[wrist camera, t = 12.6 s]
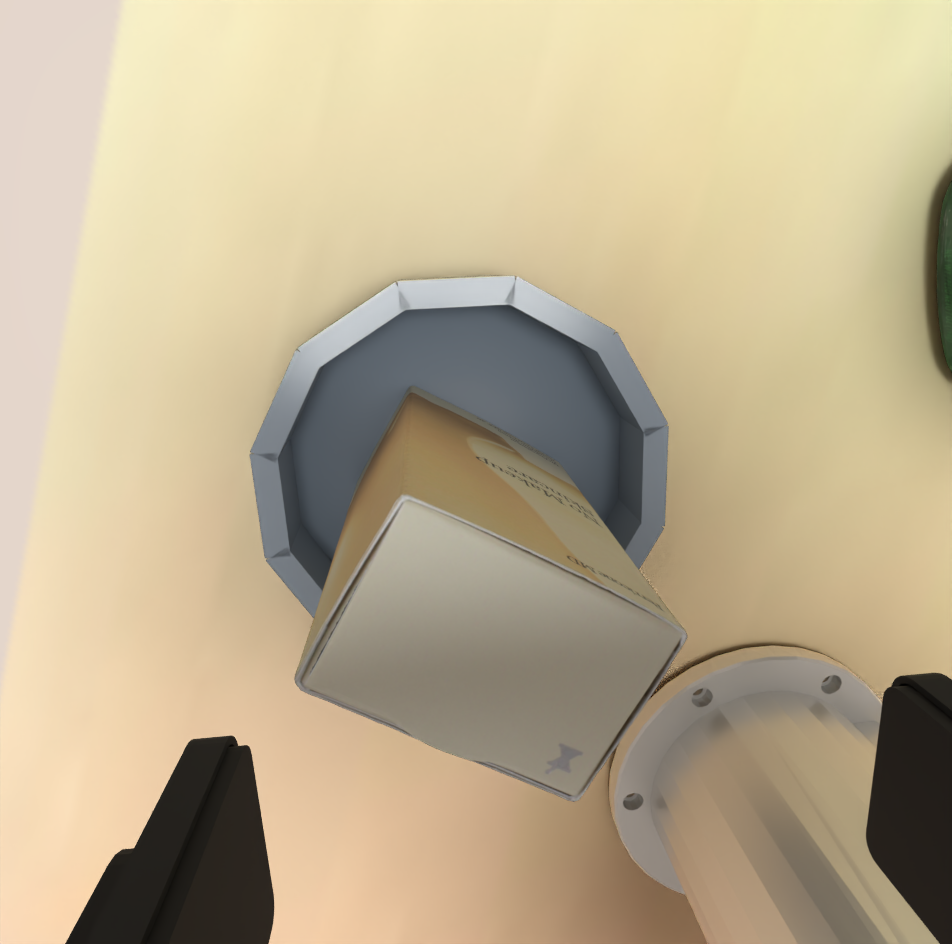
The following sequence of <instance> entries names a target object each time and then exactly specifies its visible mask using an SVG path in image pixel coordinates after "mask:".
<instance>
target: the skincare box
mask: <svg viewBox="0 0 952 944" xmlns="http://www.w3.org/2000/svg"><path fill="white" fill-rule="evenodd" d="M686 639H687V634H686V631H685V630H684V628H683V627H682V626H681V625H680V624H679V623H678V621H677V620H676V619H675V617H674V616H673V615H672V613H671V612H670V611H669V609H668V608H667V607H666V606H665V604H664V603H663V602H662V600H661V599H660V597H659V596H658V595H657V594H656V592H655V591H654V590H653V588H652V587H651V585H650V584H649V583H648V581H647V580H646V579H645V578H644V576H643V575H642V574H641V572H640V571H639V569H638V568H637V567H636V565H635V564H634V563H633V561H632V560H631V559H630V557H629V556H628V555H627V553H626V552H625V551H624V549H623V548H622V547H621V545H620V544H619V543H618V541H617V540H616V539H615V537H614V536H613V534H612V533H611V532H610V530H609V529H608V528H607V526H606V525H605V524H604V522H603V521H602V520H601V518H600V517H599V516H598V514H597V513H596V511H595V510H594V509H593V507H592V506H591V505H590V504H589V502H588V501H587V500H586V498H585V497H584V496H583V494H582V493H581V492H580V490H579V489H578V487H577V486H576V484H575V483H574V482H573V481H572V479H571V478H570V476H569V475H568V474H567V472H566V471H565V470H564V468H563V467H562V465H561V464H560V463H559V462H557V461H556V460H554V459H552V458H551V457H549V456H547V455H546V454H544V453H542V452H541V451H539V450H537V449H535V448H534V447H532V446H530V445H529V444H527V443H525V442H523V441H522V440H520V439H518V438H516V437H514V436H513V435H511V434H509V433H507V432H505V431H503V430H502V429H500V428H498V427H496V426H494V425H492V424H490V423H489V422H487V421H485V420H483V419H481V418H479V417H477V416H475V415H473V414H471V413H469V412H467V411H465V410H463V409H461V408H459V407H457V406H455V405H453V404H451V403H449V402H447V401H444V400H442V399H440V398H438V397H436V396H434V395H432V394H430V393H428V392H426V391H424V390H422V389H420V388H418V387H415V386H410V387H409V388H408V390H407V392H406V393H405V395H404V397H403V399H402V400H401V402H400V404H399V405H398V407H397V409H396V411H395V412H394V414H393V416H392V418H391V420H390V421H389V423H388V425H387V427H386V429H385V431H384V432H383V434H382V436H381V438H380V440H379V441H378V443H377V445H376V447H375V449H374V450H373V452H372V454H371V456H370V458H369V460H368V462H367V464H366V466H365V468H364V470H363V472H362V474H361V476H360V478H359V480H358V482H357V484H356V488H355V491H354V494H353V497H352V500H351V503H350V506H349V509H348V512H347V515H346V519H345V522H344V526H343V529H342V532H341V535H340V538H339V541H338V544H337V547H336V550H335V553H334V557H333V560H332V563H331V566H330V570H329V573H328V576H327V579H326V582H325V585H324V588H323V591H322V594H321V598H320V601H319V604H318V607H317V610H316V613H315V617H314V620H313V623H312V626H311V629H310V632H309V635H308V638H307V641H306V644H305V647H304V650H303V654H302V657H301V660H300V663H299V666H298V669H297V671H296V674H295V683H296V685H297V686H298V687H299V689H300V690H301V691H303V692H305V693H308V694H310V695H312V696H315V697H318V698H320V699H323V700H325V701H328V702H330V703H333V704H335V705H337V706H339V707H342V708H344V709H347V710H349V711H352V712H354V713H357V714H359V715H361V716H364V717H366V718H368V719H371V720H373V721H375V722H378V723H380V724H383V725H386V726H388V727H390V728H393V729H395V730H398V731H400V732H402V733H404V734H406V735H408V736H411V737H413V738H415V739H418V740H420V741H422V742H424V743H425V744H427V745H429V746H432V747H434V748H436V749H439V750H441V751H443V752H446V753H449V754H452V755H455V756H458V757H461V758H464V759H467V760H470V761H473V762H476V763H478V764H481V765H483V766H486V767H488V768H491V769H493V770H496V771H498V772H500V773H503V774H505V775H508V776H510V777H513V778H516V779H518V780H521V781H523V782H526V783H528V784H530V785H533V786H535V787H538V788H540V789H542V790H545V791H547V792H550V793H552V794H555V795H557V796H559V797H561V798H563V799H566V800H569V801H573V802H574V801H577V800H579V799H580V798H581V797H582V795H583V794H584V793H585V791H586V790H587V788H588V787H589V785H590V784H591V782H592V780H593V779H594V777H595V776H596V774H597V773H598V772H599V771H600V769H601V768H602V767H603V765H604V764H605V762H606V761H607V759H608V758H609V756H610V755H611V753H612V752H613V751H614V749H615V748H616V747H617V745H618V744H619V742H620V741H621V739H622V738H623V736H624V735H625V733H626V732H627V730H628V729H629V727H630V726H631V725H632V723H633V722H634V720H635V719H636V717H637V716H638V715H639V713H640V712H641V710H642V709H643V707H644V706H645V704H646V703H647V701H648V700H649V698H650V697H651V695H652V694H653V692H654V691H655V689H656V688H657V687H658V685H659V683H660V682H661V680H662V678H663V677H664V676H665V674H666V672H667V670H668V669H669V667H670V665H671V663H672V661H673V660H674V658H675V657H676V655H677V653H678V652H679V651H680V649H681V648H682V646H683V645H684V643H685V641H686Z"/></svg>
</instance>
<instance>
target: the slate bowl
mask: <svg viewBox="0 0 952 944" xmlns="http://www.w3.org/2000/svg"><path fill="white" fill-rule="evenodd" d="M410 386H415V387H418V388H420V389H422V390H424V391H426V392H428V393H430V394H432V395H434V396H436V397H438V398H440V399H442V400H444V401H447V402H449V403H451V404H453V405H455V406H457V407H459V408H461V409H463V410H465V411H467V412H469V413H471V414H473V415H475V416H477V417H479V418H481V419H483V420H485V421H487V422H489V423H490V424H492V425H494V426H496V427H498V428H500V429H502V430H503V431H505V432H507V433H509V434H511V435H513V436H514V437H516V438H518V439H520V440H522V441H523V442H525V443H527V444H529V445H530V446H532V447H534V448H535V449H537V450H539V451H541V452H542V453H544V454H546V455H547V456H549V457H551V458H552V459H554V460H556V461H557V462H559V463H560V464H561V465H562V467H563V468H564V470H565V471H566V472H567V474H568V475H569V476H570V478H571V479H572V481H573V482H574V483H575V484H576V486H577V487H578V489H579V490H580V492H581V493H582V494H583V496H584V497H585V498H586V500H587V501H588V502H589V504H590V505H591V506H592V507H593V509H594V510H595V511H596V513H597V514H598V516H599V517H600V518H601V520H602V521H603V522H604V524H605V525H606V526H607V528H608V529H609V530H610V532H611V533H612V534H613V536H614V537H615V539H616V540H617V541H618V543H619V544H620V545H621V547H622V548H623V549H624V551H625V552H626V553H627V555H628V556H629V557H630V559H631V560H632V561H633V563H634V564H635V565H636V567H637V568H638V569H640V567H641V565H642V564H643V562H644V560H645V559H646V557H647V556H648V554H649V552H650V551H651V549H652V547H653V546H654V544H655V542H656V541H657V539H658V537H659V536H660V534H661V533H662V531H663V529H664V528H663V527H662V526H665V506H666V480H667V454H668V428H669V426H668V425H667V424H668V423H667V421H666V419H665V417H664V416H663V414H662V412H661V410H660V408H659V407H658V405H657V403H656V401H655V399H654V398H653V396H652V394H651V392H650V390H649V389H648V387H647V385H646V383H645V381H644V380H643V378H642V376H641V374H640V372H639V371H638V369H637V367H636V365H635V363H634V362H633V360H632V358H631V356H630V354H629V353H628V351H627V349H626V347H625V345H624V344H623V342H622V340H621V338H620V336H619V335H618V333H617V332H615V330H614V329H612V328H610V327H608V326H606V325H605V324H603V323H601V322H599V321H597V320H596V319H594V318H592V317H590V316H588V315H586V314H585V313H583V312H581V311H579V310H577V309H576V308H574V307H572V306H570V305H568V304H567V303H565V302H563V301H561V300H559V299H557V298H556V297H554V296H552V295H550V294H548V293H547V292H545V291H543V290H541V289H539V288H538V287H536V286H534V285H532V284H530V283H528V282H527V281H525V280H523V279H521V278H519V277H518V276H505V275H494V276H473V277H452V278H431V279H409V280H398V283H397V281H395V282H394V283H392V284H391V285H389V286H388V287H386V288H385V289H383V290H382V291H380V292H379V293H377V294H376V295H374V296H373V297H371V298H370V299H368V300H367V301H365V302H364V303H362V304H361V305H359V306H358V307H357V308H355V309H354V310H352V311H351V312H349V313H348V314H346V315H345V316H343V317H342V318H340V319H339V320H337V321H336V322H334V323H333V324H331V325H330V326H328V327H327V328H325V329H324V330H322V331H321V332H319V333H318V334H316V335H315V336H313V337H312V338H311V339H309V340H308V341H306V342H305V343H304V344H302V345H301V346H299V347H298V349H296V351H295V353H294V355H293V357H292V359H291V362H290V364H289V366H288V368H287V371H286V373H285V375H284V377H283V380H282V382H281V384H280V386H279V389H278V391H277V393H276V395H275V397H274V400H273V402H272V404H271V406H270V409H269V411H268V413H267V415H266V418H265V420H264V422H263V424H262V426H261V429H260V431H259V433H258V435H257V438H256V440H255V442H254V444H253V447H252V449H251V451H250V452H251V454H250V459H251V466H252V473H253V480H254V487H255V494H256V501H257V508H258V514H259V521H260V528H261V535H262V542H263V549H264V556H265V558H267V559H266V561H267V563H268V564H269V565H270V566H271V567H272V569H273V570H274V571H275V572H276V573H277V575H278V576H279V577H280V578H281V579H282V581H283V582H284V583H285V584H286V585H287V587H288V588H289V589H290V590H291V591H292V593H293V594H294V595H295V596H296V598H297V599H298V600H299V601H300V602H301V604H302V605H303V606H304V607H305V608H306V610H307V611H308V612H309V613H310V614H311V616H312V617H313V618H314V617H315V613H316V610H317V607H318V604H319V601H320V598H321V594H322V591H323V588H324V585H325V582H326V579H327V576H328V573H329V570H330V566H331V563H332V560H333V557H334V553H335V550H336V547H337V544H338V541H339V538H340V535H341V532H342V529H343V526H344V522H345V519H346V515H347V512H348V509H349V506H350V503H351V500H352V497H353V494H354V491H355V488H356V484H357V482H358V480H359V478H360V476H361V474H362V472H363V470H364V468H365V466H366V464H367V462H368V460H369V458H370V456H371V454H372V452H373V450H374V449H375V447H376V445H377V443H378V441H379V440H380V438H381V436H382V434H383V432H384V431H385V429H386V427H387V425H388V423H389V421H390V420H391V418H392V416H393V414H394V412H395V411H396V409H397V407H398V405H399V404H400V402H401V400H402V399H403V397H404V395H405V393H406V392H407V390H408V388H409V387H410Z"/></svg>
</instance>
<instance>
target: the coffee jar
mask: <svg viewBox="0 0 952 944" xmlns="http://www.w3.org/2000/svg"><path fill="white" fill-rule="evenodd" d="M936 292H937V301H938V315H939V325H940V332H941V339H942V345H943V350H944V354H945V358H946V361H947V364H948V366H949V368H950V370H951V372H952V181H951V183H950V185H949V187H948V189H947V192H946V195H945V197H944V200H943V205H942V210H941V217H940V224H939V237H938V250H937V291H936Z"/></svg>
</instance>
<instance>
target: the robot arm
mask: <svg viewBox="0 0 952 944" xmlns="http://www.w3.org/2000/svg"><path fill="white" fill-rule="evenodd" d="M609 800H610V806H611V813H612V817H613V820H614V822H615V825H616V828H617V830H618V833H619V836H620V839H621V841H622V843H623V845H624V846H625V848H626V850H627V852H628V853H629V855H630V857H631V859H632V860H633V861H634V862H635V863H636V864H637V865H638V866H639V867H640V868H641V869H642V870H643V871H644V872H645V873H646V875H648V876H649V877H651V878H652V879H654V880H655V881H657V882H658V883H660V884H661V885H663V886H664V887H666V888H669V889H671V890H673V891H676V892H678V893H680V894H683V895H686V897H687V899H688V901H689V904H690V906H691V908H692V910H693V912H694V915H695V917H696V919H697V921H698V923H699V926H700V928H701V930H702V932H703V934H704V937H705V939H706V941H707V943H708V944H952V680H951V679H950V678H948V677H947V676H945V675H943V674H940V673H928V674H917V675H905V676H900V677H897V678H896V679H895V680H894V682H893V683H892V687H890V688H887V689H886V691H885V692H884V696H883V702H882V701H881V700H880V699H879V698H878V696H877V695H876V694H875V693H874V692H873V691H872V690H871V689H870V687H869V686H868V685H867V684H866V683H865V682H864V681H862V680H861V679H860V678H859V677H858V676H856V675H855V674H854V673H853V672H852V671H851V670H849V669H848V668H847V667H846V666H844V665H843V664H841V663H839V662H837V661H835V660H833V659H831V658H829V657H828V656H826V655H824V654H820V653H817V652H813V651H810V650H806V649H803V648H798V647H786V646H774V645H772V646H762V647H751V648H744V649H740V650H736V651H733V652H729V653H725V654H722V655H718V656H716V657H713V658H711V659H709V660H707V661H704V662H702V663H700V664H698V665H696V666H693V667H691V668H690V669H688V670H687V671H685V672H683V673H682V674H680V675H679V676H677V677H676V678H674V679H673V680H671V681H670V682H668V683H667V684H666V685H665V686H663V687H662V688H661V689H660V690H659V691H658V692H657V693H656V694H655V695H654V696H653V697H652V698H650V699H649V700H648V701H647V703H646V704H645V706H644V707H643V709H642V710H641V712H640V713H639V715H638V716H637V717H636V719H635V720H634V722H633V723H632V725H631V726H630V727H629V729H628V730H627V732H626V733H625V735H624V736H623V738H622V739H621V741H620V743H619V745H618V747H617V749H616V753H615V756H614V760H613V763H612V766H611V770H610V780H609ZM273 918H274V895H273V888H272V882H271V875H270V869H269V863H268V856H267V850H266V843H265V837H264V831H263V824H262V818H261V812H260V805H259V799H258V792H257V786H256V780H255V773H254V767H253V760H252V754H251V750H250V748H249V746H247V745H244V746H238V744H237V741H236V739H235V737H233V736H223V737H212V738H201V739H193V740H191V741H190V742H189V743H188V745H187V746H186V748H185V750H184V752H183V754H182V756H181V758H180V760H179V762H178V764H177V766H176V768H175V769H174V771H173V773H172V775H171V777H170V779H169V781H168V783H167V785H166V787H165V789H164V791H163V793H162V795H161V797H160V799H159V801H158V803H157V805H156V807H155V809H154V811H153V812H152V814H151V816H150V818H149V820H148V822H147V824H146V826H145V828H144V830H143V832H142V834H141V836H140V838H139V840H138V842H137V844H136V846H135V848H133V849H123V850H121V851H120V852H118V853H117V854H116V855H115V856H114V857H113V859H112V860H111V862H110V863H109V864H108V866H107V868H106V870H105V872H104V873H103V875H102V877H101V879H100V881H99V883H98V884H97V886H96V888H95V890H94V892H93V894H92V895H91V897H90V899H89V901H88V903H87V905H86V907H85V908H84V910H83V912H82V914H81V916H80V918H79V919H78V921H77V923H76V925H75V927H74V929H73V931H72V932H71V934H70V936H69V938H68V940H67V942H66V943H65V944H268V943H269V939H270V935H271V930H272V925H273Z"/></svg>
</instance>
